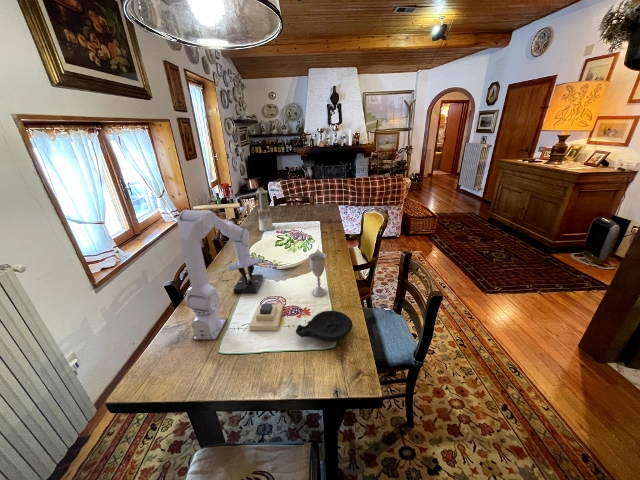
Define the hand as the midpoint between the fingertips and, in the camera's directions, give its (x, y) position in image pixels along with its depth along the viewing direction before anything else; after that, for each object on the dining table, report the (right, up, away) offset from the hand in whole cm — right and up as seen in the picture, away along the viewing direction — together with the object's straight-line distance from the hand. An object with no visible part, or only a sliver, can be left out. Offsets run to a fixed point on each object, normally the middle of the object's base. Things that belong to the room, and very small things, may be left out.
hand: (248, 280), depth 116 cm
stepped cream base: (+13, -12, -20) cm, 26 cm away
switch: (+13, -8, -21) cm, 26 cm away
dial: (0, -1, 0) cm, 1 cm away
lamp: (-6, +26, +68) cm, 73 cm away
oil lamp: (+35, -15, -28) cm, 47 cm away
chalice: (+33, -5, -6) cm, 34 cm away
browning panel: (0, -3, +1) cm, 3 cm away
